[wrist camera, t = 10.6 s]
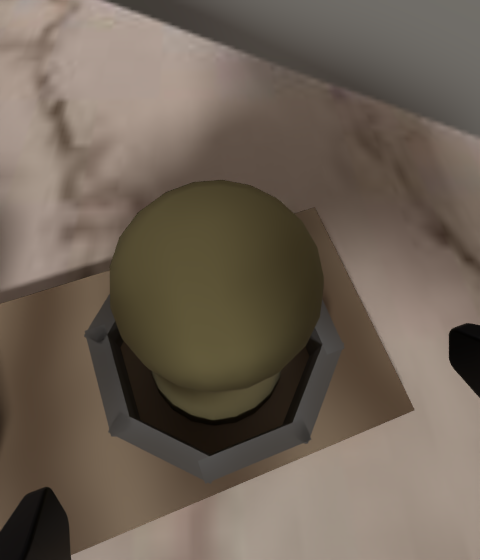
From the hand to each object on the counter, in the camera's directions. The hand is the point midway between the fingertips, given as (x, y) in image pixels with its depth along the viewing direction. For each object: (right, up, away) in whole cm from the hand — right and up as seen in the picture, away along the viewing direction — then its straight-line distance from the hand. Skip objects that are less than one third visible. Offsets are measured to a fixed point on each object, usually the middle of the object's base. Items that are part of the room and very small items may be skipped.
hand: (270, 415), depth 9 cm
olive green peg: (-2, -1, +10) cm, 11 cm away
